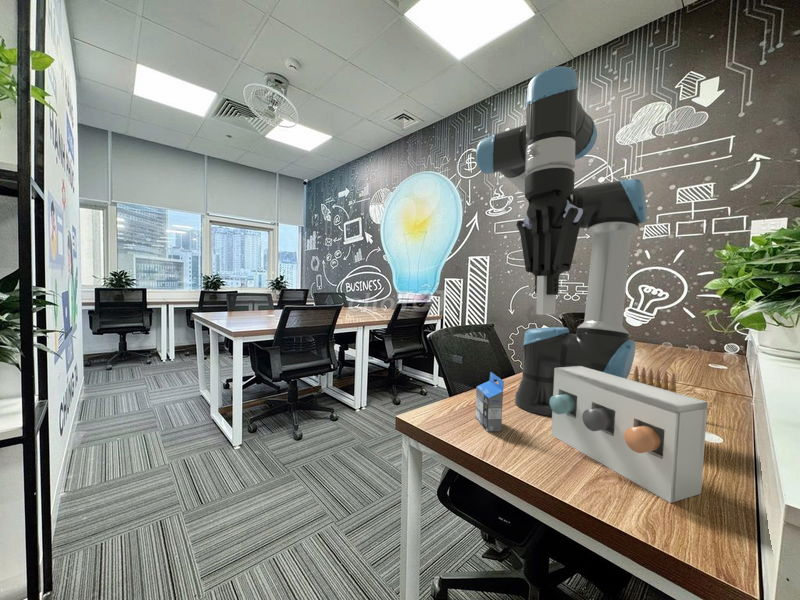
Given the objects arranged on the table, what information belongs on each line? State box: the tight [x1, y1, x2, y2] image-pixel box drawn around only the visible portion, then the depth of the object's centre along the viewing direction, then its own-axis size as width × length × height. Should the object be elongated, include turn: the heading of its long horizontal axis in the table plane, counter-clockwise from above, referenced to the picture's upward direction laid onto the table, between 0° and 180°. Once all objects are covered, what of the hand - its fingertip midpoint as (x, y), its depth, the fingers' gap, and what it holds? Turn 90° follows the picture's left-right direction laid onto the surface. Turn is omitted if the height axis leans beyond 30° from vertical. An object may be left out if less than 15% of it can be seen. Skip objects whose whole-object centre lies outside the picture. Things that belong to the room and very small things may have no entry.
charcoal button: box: [582, 408, 612, 431], centre depth 64 cm, size 4×3×4 cm
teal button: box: [550, 394, 575, 414], centre depth 72 cm, size 4×3×4 cm
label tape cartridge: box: [474, 371, 505, 433], centre depth 81 cm, size 9×4×12 cm, turn 6°
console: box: [550, 366, 708, 504], centre depth 65 cm, size 25×8×16 cm, turn 20°
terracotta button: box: [624, 426, 660, 453], centre depth 56 cm, size 4×3×4 cm
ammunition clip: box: [631, 365, 677, 393], centre depth 94 cm, size 11×2×12 cm, turn 36°
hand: (545, 313), depth 55 cm, fingers closed
